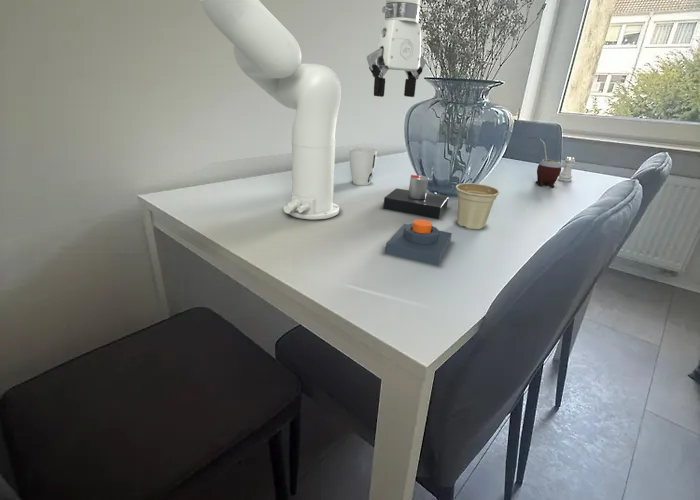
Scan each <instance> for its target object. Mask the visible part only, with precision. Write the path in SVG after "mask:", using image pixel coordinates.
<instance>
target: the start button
mask: <svg viewBox="0 0 700 500" xmlns="http://www.w3.org/2000/svg"><path fill="white" fill-rule="evenodd" d="M412 223H413V227H412V231H415V232H417V233H431V228H432V226H433V223H432V221H430V220H427V219H421V218H419V219H414V220H413V221H412Z"/></svg>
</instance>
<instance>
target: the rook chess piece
mask: <svg viewBox="0 0 700 500" xmlns="http://www.w3.org/2000/svg"><path fill="white" fill-rule="evenodd" d="M575 159H576V158H575V157H571V156H566V158H565V159H564V161H565V163H564V166H563V169H562V170H561V172H560V175H559V176H558V178H557V180H558V181H559V182H565V183H570V182H571V181H572V178H573V174H572V171H573V167H574V163H575V162H576V160H575Z"/></svg>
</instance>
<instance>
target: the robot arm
mask: <svg viewBox="0 0 700 500" xmlns="http://www.w3.org/2000/svg"><path fill="white" fill-rule="evenodd" d="M199 3H200V6H201V8H202V9H203V11H204V13H205V15H206V17H207V18H208V19H209V21H210V22H211V23H212V24H213V26H214V27H216V29H217V30H218V31H219V32H220V33H221V34H222V35H223V36H225V38H226V39H227V40H228V41H229V42H230V43H231V44H232V45H233V47H232V48H233V56H234V59H235V62H236V64H237V65H238V67H239V68H240V69H241V71H242V72H243V73H244V74H245V76H247V77H248V79H250V80H252V81H253V82H254V83H255V84H256V85H257V86H259V88H261V89H262V90H263V91H264V92H265V93H267V94H268V95H269V96H270V97H272V98H273V99H274V100H275V101H276V102H278V103H279V104H280V105H282V106H284V107H285V108H288V109H291V110H295V111H296V112H295V115H294V119H293V122H292V128H291V178H292V179H291V194H292V195H291V200H290V201H288V203H286V204H285V205H284V206H283V207H282V208H283V212H284V213H286V214H288V215H289V216H291V217H294V218H297V219H302V220H313V221H314V220H326V219H331V218H333V217H336V216H337V215H338V214H339V213H340V206H339V205H338V204H337V203H335V202H334V184H335V183H334V182H335V160H336V159H335V158H336V157H335V156H336V133H337V132H336V131H337V121H338V116H339V110H340V106H341V101H342V93H343V92H342V91H343V90H342V83H341V80H340V78H339V76H338V75H337V73H336V72H335V71H334V70H333V69H331V68H330V67H328V66H327V65H323V64H320V63H319V64H318V63H302V58H303V57H302V50H301V47H300V44H299V42H298V41H297V39H296V38H295V36H294V35H293V34H292V33H291V32H290V31H289V30H288V29H287V28H286V27H285V26H284V25H283V24H282V22H281V21H280V20H278V19H277V18H276V16H274V15H273V14H272V13H271V11H269V9H267V7H266V6H264V4H263V3H262V2H261V0H199ZM420 5H421V0H385V5H383V7H382V10H381V11H382V13H383V14H384V19H383V20H382V23H381V26H380V30H379V35H378V42H377V49H376V50H374V51H372V52H370V54H368V55H367V56H366V60H367V63H368V69H369V71H370V73H371V74H372V75H371V76H372V78H374V81H373V82H374V83H373V96H374V97H381V98H383V97H384V96H385V89H386V78H385V75H386V73H387V72H388V71H389V70H392V71H404V73H405V75H406V77H407V78H405V81H404V91H403V96H404V97H406V98H407V97H409V98H414V97H415V95H416V87H417V81H418V80H419V77H420V75H421V74H422V73H423V69H424V68H425V65H426V62H427V60H426V59H425V58H424V57H423V56H422V55H421V51H422V27H421V23H419V17H420V16H419V14H420V7H421V6H420Z"/></svg>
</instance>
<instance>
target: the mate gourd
mask: <svg viewBox="0 0 700 500" xmlns="http://www.w3.org/2000/svg"><path fill="white" fill-rule="evenodd" d="M538 140H540V142H541V143H542V145H543V151H544V159H542V160H541V161H540V162H539V164H538V165H537V168H536V177H537V179H536V181H535V184H538V186H539V187H544V186H546V187H550V188H555V184H556V182H557V180H558V178H559V175H560V174H561V172H562V163H561V161H559V160H555V159H549V158H548V155H547V144H546V143H545V142H544V140H543V139H542V138H541V137H538Z"/></svg>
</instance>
